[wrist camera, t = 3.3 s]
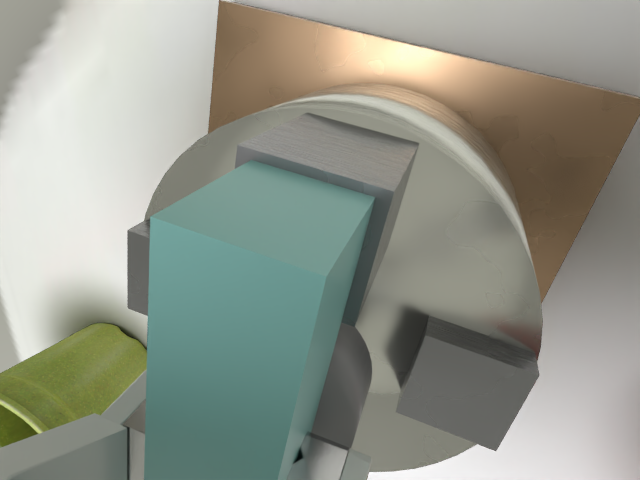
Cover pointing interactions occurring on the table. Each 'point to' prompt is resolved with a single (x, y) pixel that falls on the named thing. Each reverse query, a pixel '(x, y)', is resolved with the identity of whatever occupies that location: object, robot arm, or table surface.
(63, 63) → the table surface
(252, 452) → the teal rectangular stick
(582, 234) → the table surface
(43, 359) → the plant pot
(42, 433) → the robot arm
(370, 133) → the socket
